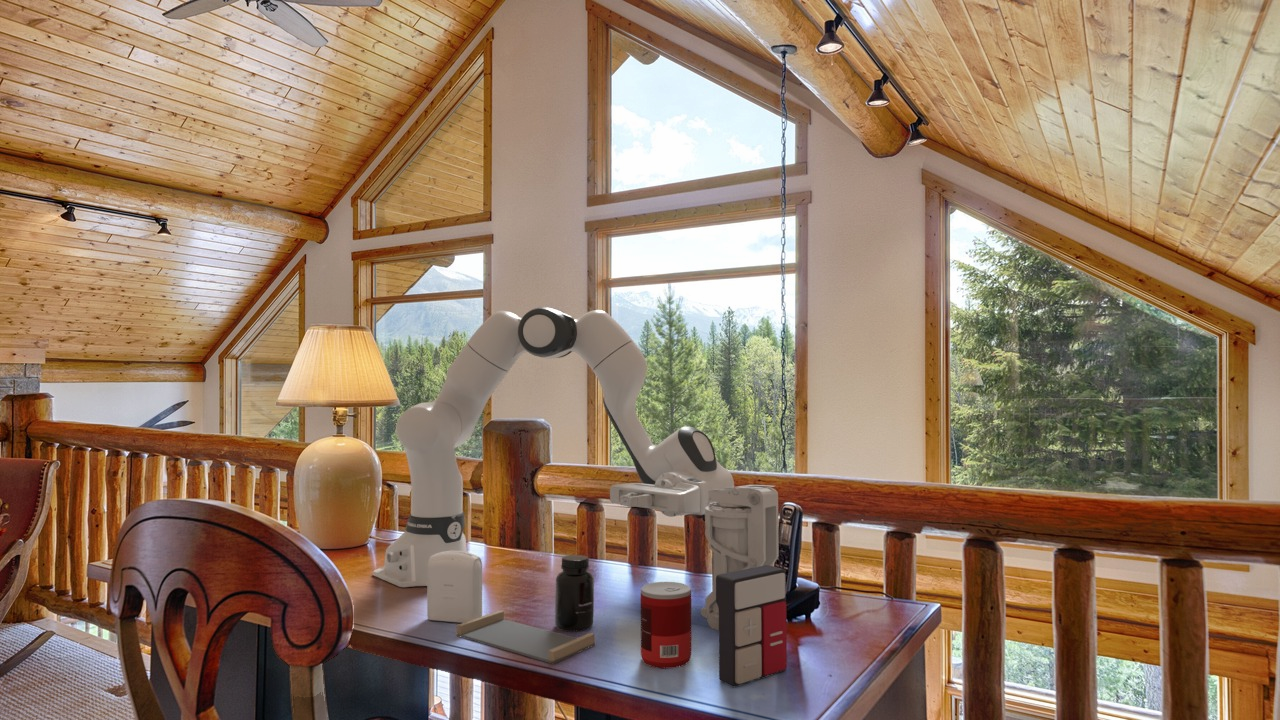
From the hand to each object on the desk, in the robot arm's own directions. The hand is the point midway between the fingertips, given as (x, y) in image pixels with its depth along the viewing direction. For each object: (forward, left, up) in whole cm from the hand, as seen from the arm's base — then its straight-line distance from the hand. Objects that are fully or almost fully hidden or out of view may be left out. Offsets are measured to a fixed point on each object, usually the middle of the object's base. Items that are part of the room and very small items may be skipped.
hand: (625, 501), depth 138 cm
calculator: (+34, -14, -21) cm, 42 cm away
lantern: (+22, +5, -21) cm, 31 cm away
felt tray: (-4, -23, -21) cm, 31 cm away
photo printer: (-22, -22, -21) cm, 38 cm away
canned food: (+20, -16, -21) cm, 33 cm away
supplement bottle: (-2, -12, -21) cm, 24 cm away
